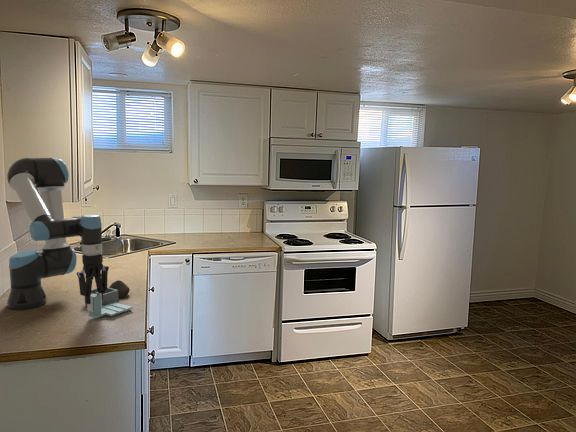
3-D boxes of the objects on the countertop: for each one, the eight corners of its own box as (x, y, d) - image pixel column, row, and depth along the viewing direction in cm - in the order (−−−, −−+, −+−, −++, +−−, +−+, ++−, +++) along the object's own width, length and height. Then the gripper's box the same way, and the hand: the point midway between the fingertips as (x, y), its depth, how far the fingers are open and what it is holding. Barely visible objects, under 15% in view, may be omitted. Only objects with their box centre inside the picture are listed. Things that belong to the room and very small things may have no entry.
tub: (84, 304, 199) (84, 292, 198) (104, 298, 207) (103, 286, 206) (99, 309, 194) (98, 296, 193) (118, 302, 202) (118, 290, 202)
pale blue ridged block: (83, 314, 184) (82, 293, 183) (115, 303, 198) (115, 284, 197) (100, 320, 179) (99, 298, 178) (132, 308, 192) (132, 289, 191)
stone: (132, 303, 214) (131, 284, 219) (128, 294, 207) (127, 276, 213) (110, 307, 211) (110, 288, 217) (106, 299, 205) (105, 280, 210)
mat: (95, 313, 189) (95, 312, 189) (115, 306, 197) (115, 305, 197) (111, 318, 184) (111, 317, 184) (131, 311, 192) (131, 310, 192)
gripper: (79, 258, 170) (82, 317, 174) (115, 251, 184) (117, 305, 188) (67, 256, 174) (70, 313, 177) (103, 248, 188) (106, 302, 191)
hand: (94, 309), depth 182 cm, fingers open, 3 cm apart
